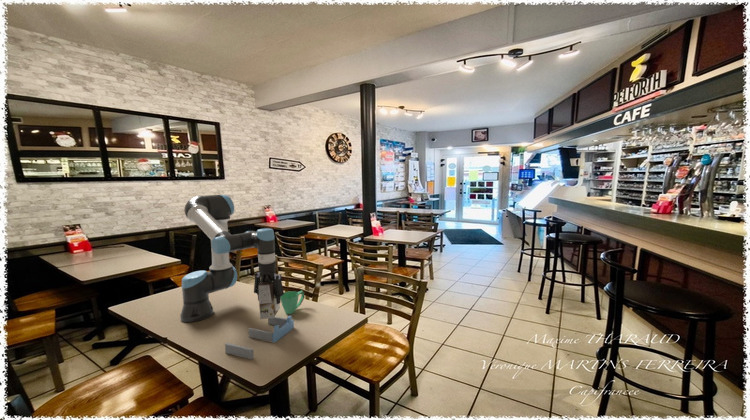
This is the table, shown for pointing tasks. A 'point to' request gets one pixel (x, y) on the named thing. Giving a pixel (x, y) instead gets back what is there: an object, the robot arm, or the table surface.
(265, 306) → the coffee box
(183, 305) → the robot arm
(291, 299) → the mug
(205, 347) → the table surface
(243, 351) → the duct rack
